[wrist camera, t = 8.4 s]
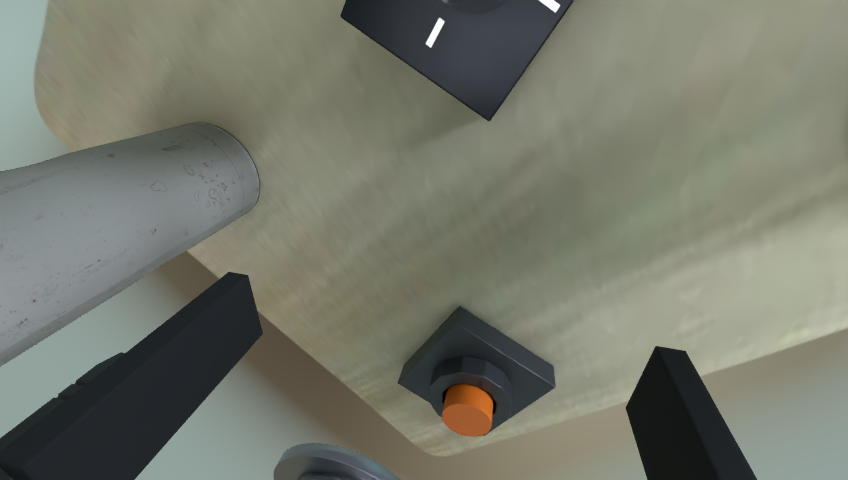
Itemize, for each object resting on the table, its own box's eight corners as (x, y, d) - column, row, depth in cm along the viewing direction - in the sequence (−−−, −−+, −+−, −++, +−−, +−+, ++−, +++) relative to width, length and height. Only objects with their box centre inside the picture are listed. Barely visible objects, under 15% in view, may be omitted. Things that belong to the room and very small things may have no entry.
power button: (475, 420, 31) (472, 443, 29) (437, 397, 31) (432, 418, 29) (503, 400, 29) (502, 422, 27) (463, 375, 29) (459, 396, 27)
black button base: (485, 415, 36) (482, 454, 33) (403, 365, 35) (391, 399, 32) (553, 366, 31) (558, 406, 27) (459, 305, 30) (452, 339, 27)
